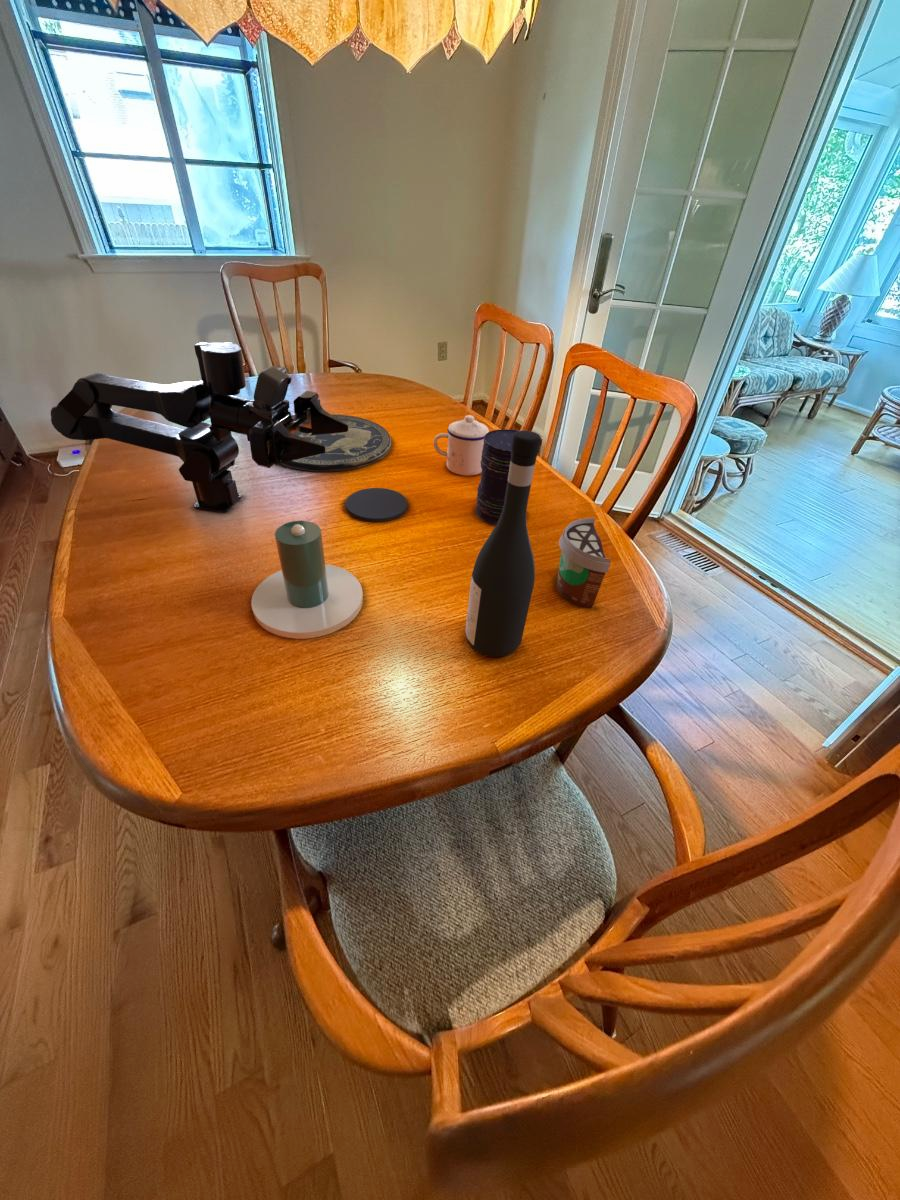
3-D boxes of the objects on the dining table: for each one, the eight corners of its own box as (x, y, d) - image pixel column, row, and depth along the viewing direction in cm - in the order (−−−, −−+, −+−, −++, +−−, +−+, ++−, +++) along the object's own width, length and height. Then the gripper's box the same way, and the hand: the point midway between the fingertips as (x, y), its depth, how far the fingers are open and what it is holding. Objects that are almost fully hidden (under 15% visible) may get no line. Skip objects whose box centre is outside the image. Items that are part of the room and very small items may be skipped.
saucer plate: (232, 628, 69) (230, 622, 68) (280, 562, 81) (279, 556, 80) (343, 647, 68) (342, 640, 67) (375, 577, 80) (375, 571, 79)
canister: (280, 604, 72) (265, 533, 64) (296, 579, 76) (284, 510, 68) (320, 611, 71) (310, 540, 63) (334, 585, 76) (326, 517, 68)
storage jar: (478, 526, 94) (487, 450, 84) (472, 500, 101) (479, 428, 91) (530, 526, 95) (544, 451, 85) (519, 500, 102) (532, 429, 93)
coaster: (337, 517, 93) (336, 513, 92) (356, 487, 102) (356, 484, 101) (399, 526, 92) (399, 522, 91) (413, 495, 101) (413, 492, 100)
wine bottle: (456, 650, 68) (478, 440, 49) (474, 615, 74) (501, 415, 55) (512, 668, 67) (558, 457, 47) (526, 630, 72) (572, 429, 53)
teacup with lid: (486, 461, 116) (492, 411, 108) (483, 478, 109) (490, 426, 101) (435, 455, 116) (437, 405, 109) (430, 472, 109) (432, 420, 102)
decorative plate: (234, 452, 107) (294, 406, 129) (236, 460, 108) (295, 413, 130) (368, 474, 103) (405, 422, 126) (368, 482, 105) (405, 430, 127)
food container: (544, 564, 86) (556, 513, 79) (580, 566, 86) (594, 516, 79) (554, 611, 76) (568, 558, 70) (593, 613, 76) (611, 561, 70)
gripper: (203, 383, 69) (308, 407, 68) (271, 351, 83) (359, 370, 82) (217, 457, 76) (312, 480, 75) (277, 416, 90) (358, 435, 89)
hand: (337, 438), depth 80 cm, fingers open, 9 cm apart
